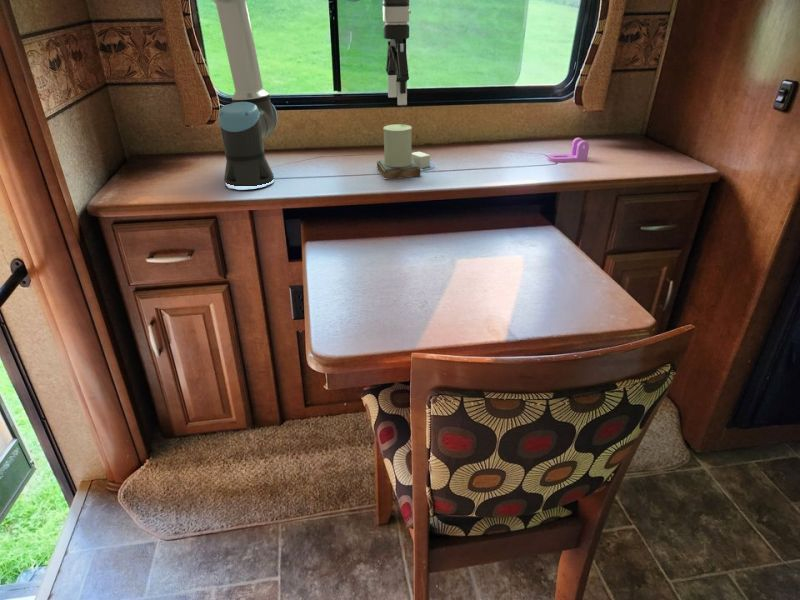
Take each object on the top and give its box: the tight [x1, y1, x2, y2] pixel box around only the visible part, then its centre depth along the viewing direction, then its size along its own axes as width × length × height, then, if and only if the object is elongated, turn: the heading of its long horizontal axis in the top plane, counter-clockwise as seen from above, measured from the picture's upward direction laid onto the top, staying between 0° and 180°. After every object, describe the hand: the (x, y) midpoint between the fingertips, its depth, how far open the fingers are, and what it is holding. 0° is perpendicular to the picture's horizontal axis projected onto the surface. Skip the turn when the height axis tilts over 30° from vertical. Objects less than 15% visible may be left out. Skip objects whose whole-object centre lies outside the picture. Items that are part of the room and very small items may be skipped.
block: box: [412, 151, 431, 169], centre depth 178 cm, size 4×6×4 cm, turn 35°
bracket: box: [547, 137, 590, 164], centre depth 181 cm, size 13×6×7 cm, turn 97°
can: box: [383, 123, 413, 167], centre depth 168 cm, size 9×9×12 cm
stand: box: [376, 159, 422, 179], centre depth 172 cm, size 12×12×3 cm
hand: (397, 101), depth 161 cm, fingers open, 13 cm apart
